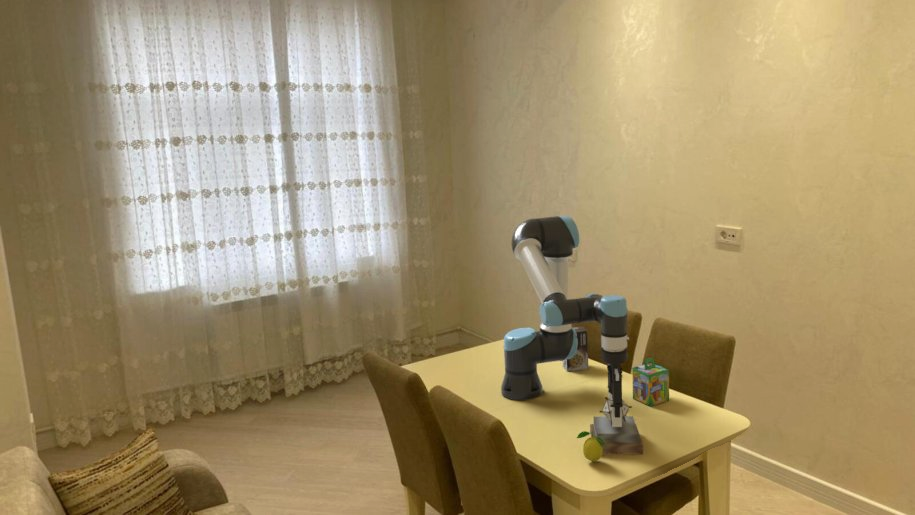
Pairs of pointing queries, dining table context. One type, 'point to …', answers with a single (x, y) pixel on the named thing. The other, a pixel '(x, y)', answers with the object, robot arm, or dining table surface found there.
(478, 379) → the dining table surface
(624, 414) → the game die
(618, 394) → the robot arm
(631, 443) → the tower base
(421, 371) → the dining table surface
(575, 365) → the coffee box
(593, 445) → the lemon
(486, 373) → the dining table surface
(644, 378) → the chalk box
